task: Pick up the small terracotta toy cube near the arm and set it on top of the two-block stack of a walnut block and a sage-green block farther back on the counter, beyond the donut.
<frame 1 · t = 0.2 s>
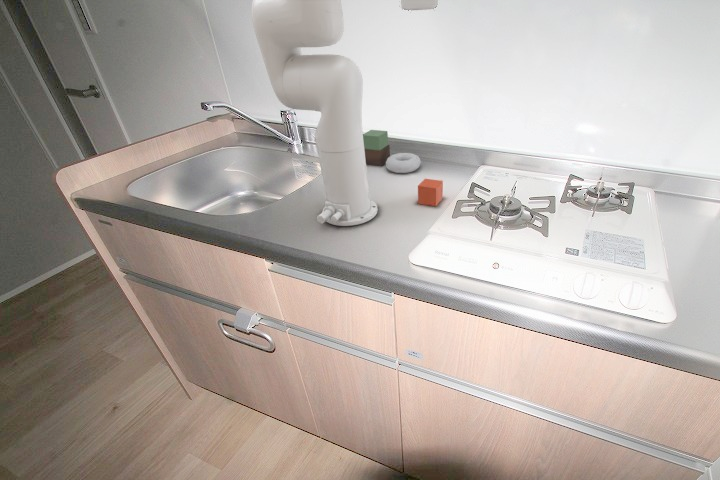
hand: (422, 36, 97), 31 cm above the worktop, tool pointing down, fingers open, 9 cm apart
donut: (403, 169, 105), on the worktop
toy cube: (430, 201, 86), on the worktop
stack middle: (375, 146, 108), point 4 cm above the worktop, touching stack base
stack base: (377, 161, 110), on the worktop, touching stack middle
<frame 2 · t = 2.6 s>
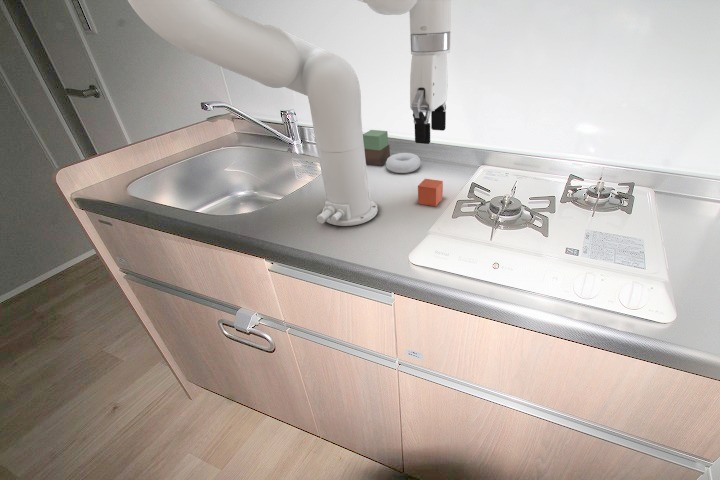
hand: (430, 136, 79), 15 cm above the worktop, tool pointing down, fingers open, 9 cm apart
nothing on the worktop moved.
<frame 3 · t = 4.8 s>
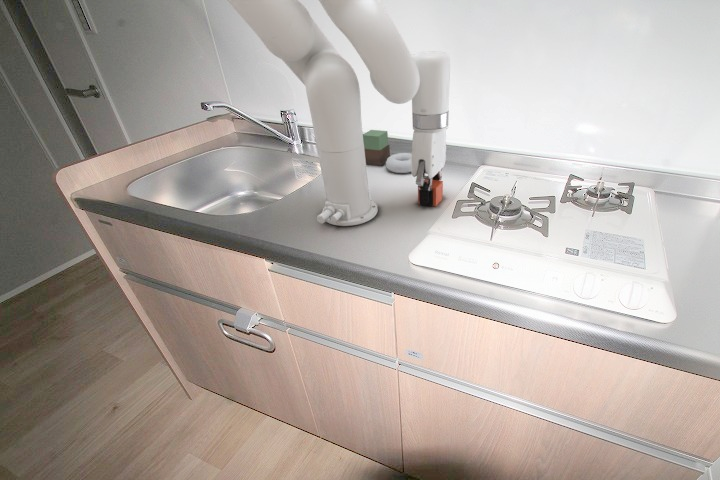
hand: (430, 199, 86), 0 cm above the worktop, tool pointing down, fingers closed on toy cube, 4 cm apart
toy cube: (430, 201, 86), on the worktop, touching gripper
everything else where it was.
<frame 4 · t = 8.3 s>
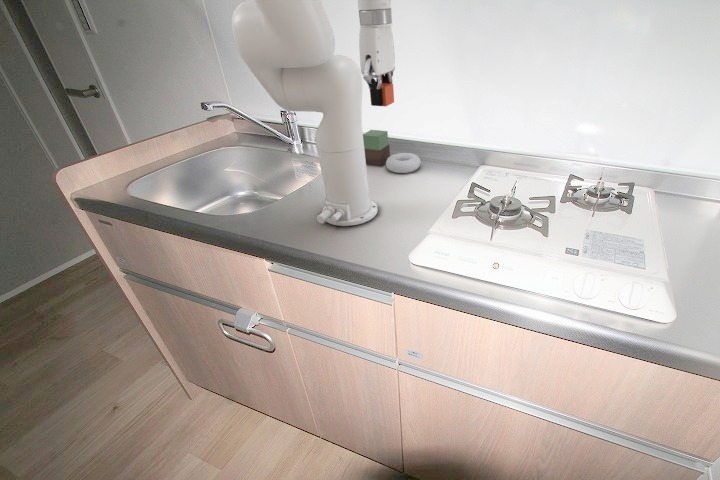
hand: (382, 102, 95), 18 cm above the worktop, tool pointing down, fingers closed on toy cube, 4 cm apart
toy cube: (382, 103, 95), point 17 cm above the worktop, touching gripper
everything else where it was.
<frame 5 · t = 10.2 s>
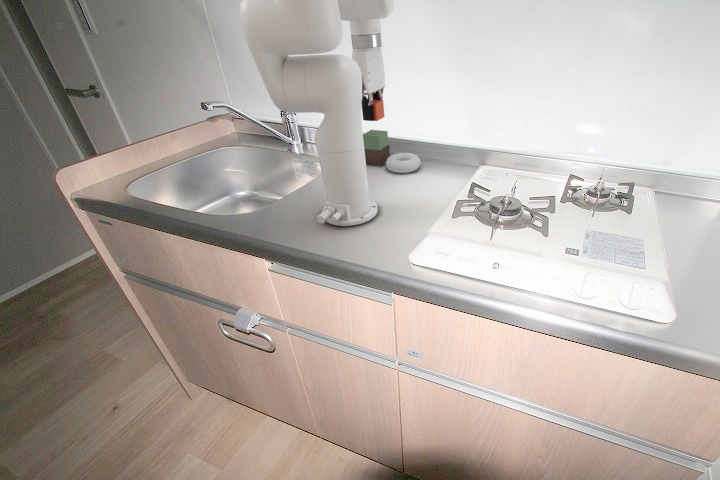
hand: (373, 117, 103), 13 cm above the worktop, tool pointing down, fingers closed on toy cube, 4 cm apart
toy cube: (373, 118, 103), point 12 cm above the worktop, touching gripper
everything else where it was.
when the fingers open (9 cm above the worktop, at t = 11.7 s): toy cube stays where it is, resting on stack middle.
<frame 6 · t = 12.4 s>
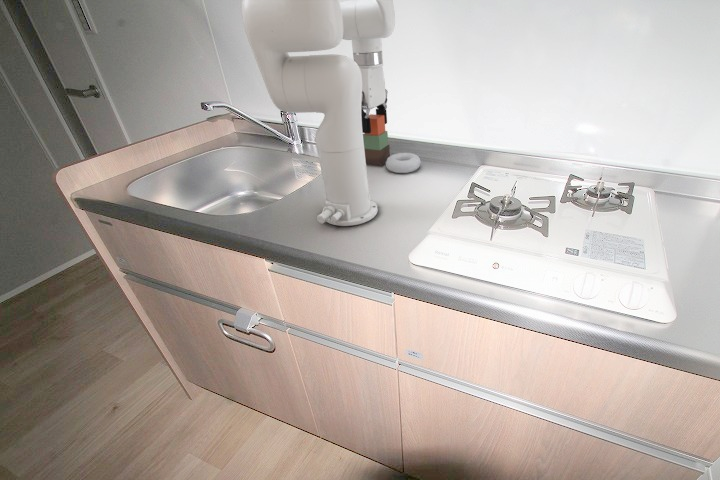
hand: (374, 127, 104), 10 cm above the worktop, tool pointing down, fingers open, 9 cm apart
toy cube: (375, 132, 105), point 8 cm above the worktop, touching stack middle
stack middle: (375, 146, 108), point 4 cm above the worktop, touching stack base, toy cube
everything else where it was.
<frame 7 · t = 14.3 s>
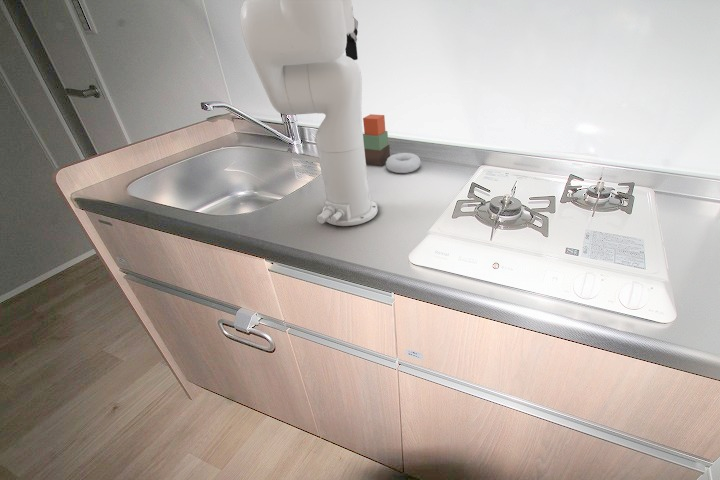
hand: (341, 62, 92), 27 cm above the worktop, tool pointing down, fingers open, 9 cm apart
nothing on the worktop moved.
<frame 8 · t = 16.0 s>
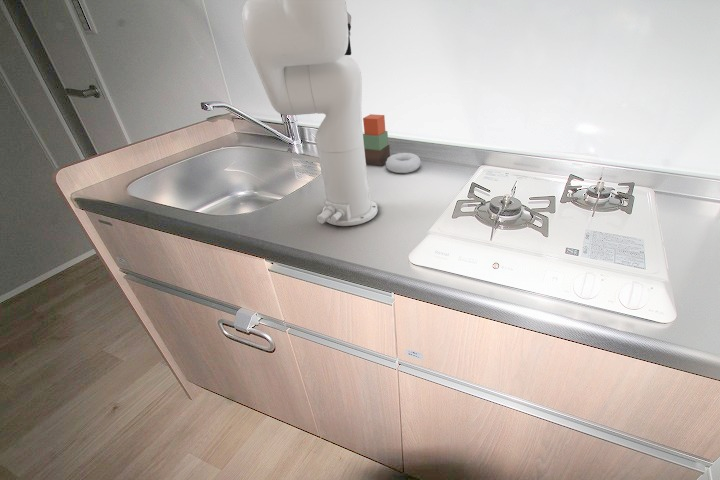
hand: (335, 57, 91), 28 cm above the worktop, tool pointing down, fingers open, 9 cm apart
nothing on the worktop moved.
at the end: toy cube 0.1 cm off-centre on the stack base, point 8.5 cm above the stack base's base; toy cube tilted 0°; stack middle tilted 0° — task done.
